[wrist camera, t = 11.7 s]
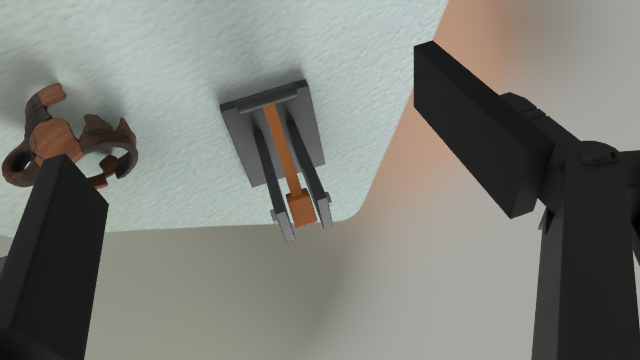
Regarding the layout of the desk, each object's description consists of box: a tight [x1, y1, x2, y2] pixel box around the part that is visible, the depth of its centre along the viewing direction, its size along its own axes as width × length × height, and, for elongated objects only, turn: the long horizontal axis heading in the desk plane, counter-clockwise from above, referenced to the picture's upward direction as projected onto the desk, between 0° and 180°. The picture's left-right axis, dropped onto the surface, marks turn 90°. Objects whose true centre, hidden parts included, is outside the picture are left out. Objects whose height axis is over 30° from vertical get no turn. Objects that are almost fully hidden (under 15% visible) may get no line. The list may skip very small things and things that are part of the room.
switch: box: [235, 84, 317, 228], centre depth 37 cm, size 13×6×2 cm, turn 11°
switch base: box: [220, 80, 333, 242], centre depth 43 cm, size 12×10×15 cm
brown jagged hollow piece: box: [2, 84, 138, 189], centre depth 39 cm, size 12×10×8 cm
